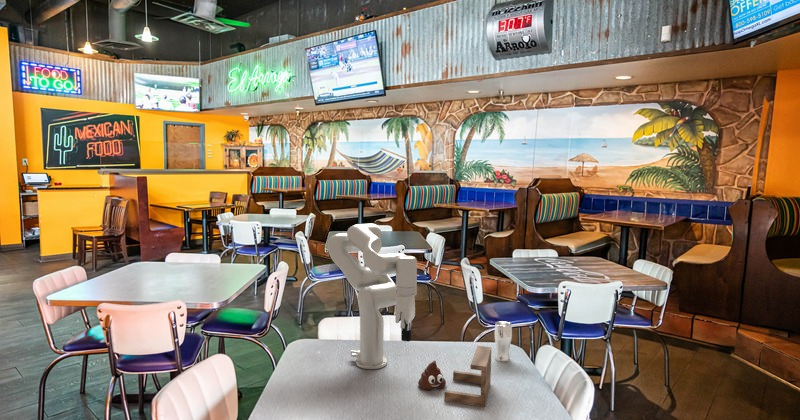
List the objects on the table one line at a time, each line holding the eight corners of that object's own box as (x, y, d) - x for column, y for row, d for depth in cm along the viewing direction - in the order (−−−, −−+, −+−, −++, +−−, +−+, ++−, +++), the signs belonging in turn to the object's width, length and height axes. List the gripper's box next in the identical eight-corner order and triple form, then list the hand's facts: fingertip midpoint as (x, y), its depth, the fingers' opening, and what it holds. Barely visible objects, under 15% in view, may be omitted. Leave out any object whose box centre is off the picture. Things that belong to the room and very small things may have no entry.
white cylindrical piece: (511, 363, 181) (512, 326, 180) (494, 361, 182) (494, 325, 181) (510, 356, 188) (511, 321, 187) (493, 355, 189) (494, 320, 188)
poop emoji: (440, 379, 165) (440, 355, 164) (449, 390, 157) (450, 364, 156) (415, 383, 162) (415, 358, 161) (423, 393, 154) (423, 367, 153)
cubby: (444, 400, 149) (445, 361, 148) (453, 378, 166) (454, 343, 165) (485, 407, 145) (486, 366, 144) (490, 383, 162) (491, 347, 161)
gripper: (402, 285, 168) (402, 333, 169) (389, 294, 154) (389, 346, 155) (421, 286, 166) (421, 335, 167) (410, 295, 152) (410, 348, 152)
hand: (406, 340), depth 161 cm, fingers closed
